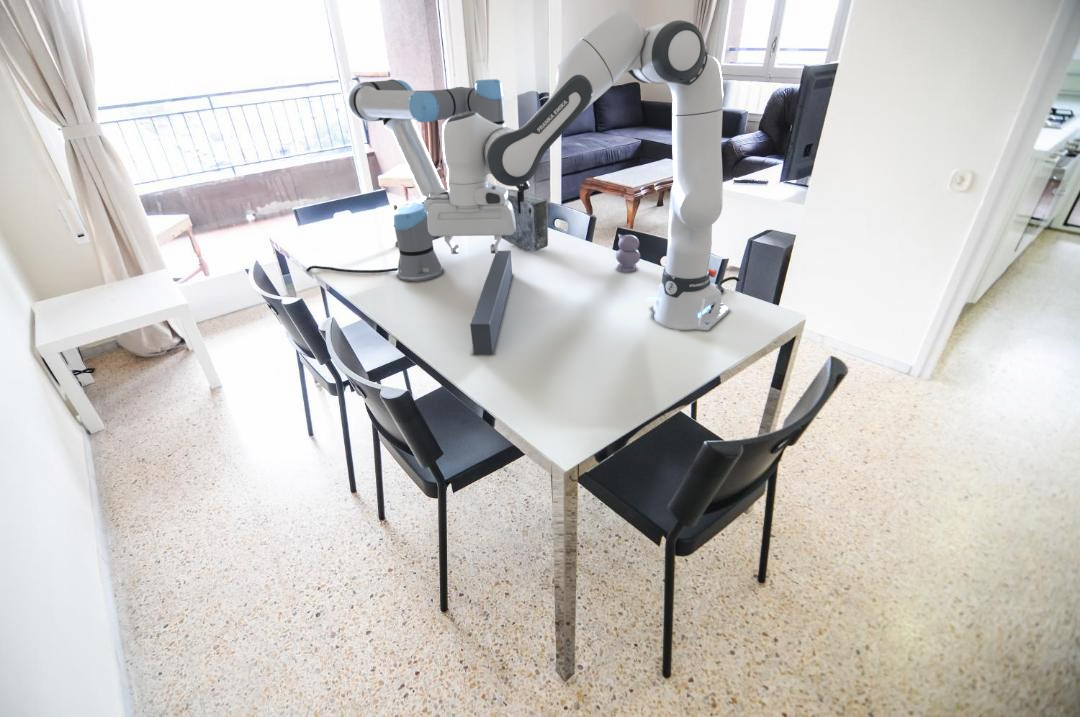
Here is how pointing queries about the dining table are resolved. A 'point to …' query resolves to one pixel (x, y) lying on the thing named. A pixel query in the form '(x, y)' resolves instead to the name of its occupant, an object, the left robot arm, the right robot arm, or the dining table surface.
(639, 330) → the dining table surface
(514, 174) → the right robot arm
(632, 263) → the cat figurine
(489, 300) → the beam
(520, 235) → the concrete block
